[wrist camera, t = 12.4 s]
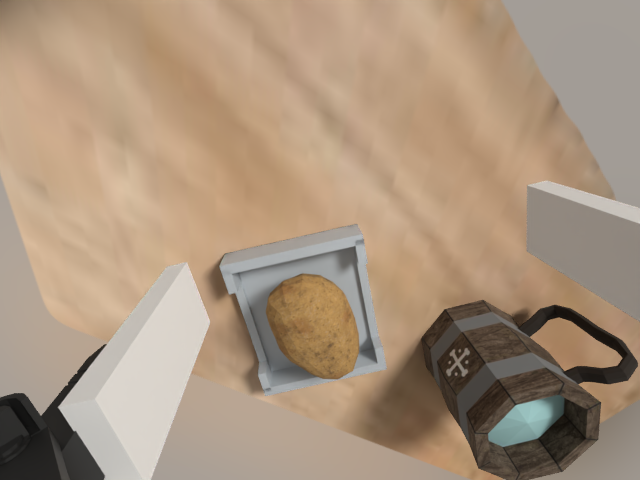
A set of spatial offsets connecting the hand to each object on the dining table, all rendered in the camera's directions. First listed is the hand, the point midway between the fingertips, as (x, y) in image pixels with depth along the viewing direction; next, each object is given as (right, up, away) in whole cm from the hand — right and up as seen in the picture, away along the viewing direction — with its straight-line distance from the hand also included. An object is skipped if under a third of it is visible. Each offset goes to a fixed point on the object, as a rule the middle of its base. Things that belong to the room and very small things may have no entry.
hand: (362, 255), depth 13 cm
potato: (-2, -8, +31) cm, 32 cm away
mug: (+21, -12, +35) cm, 43 cm away
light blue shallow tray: (-3, -8, +31) cm, 33 cm away
